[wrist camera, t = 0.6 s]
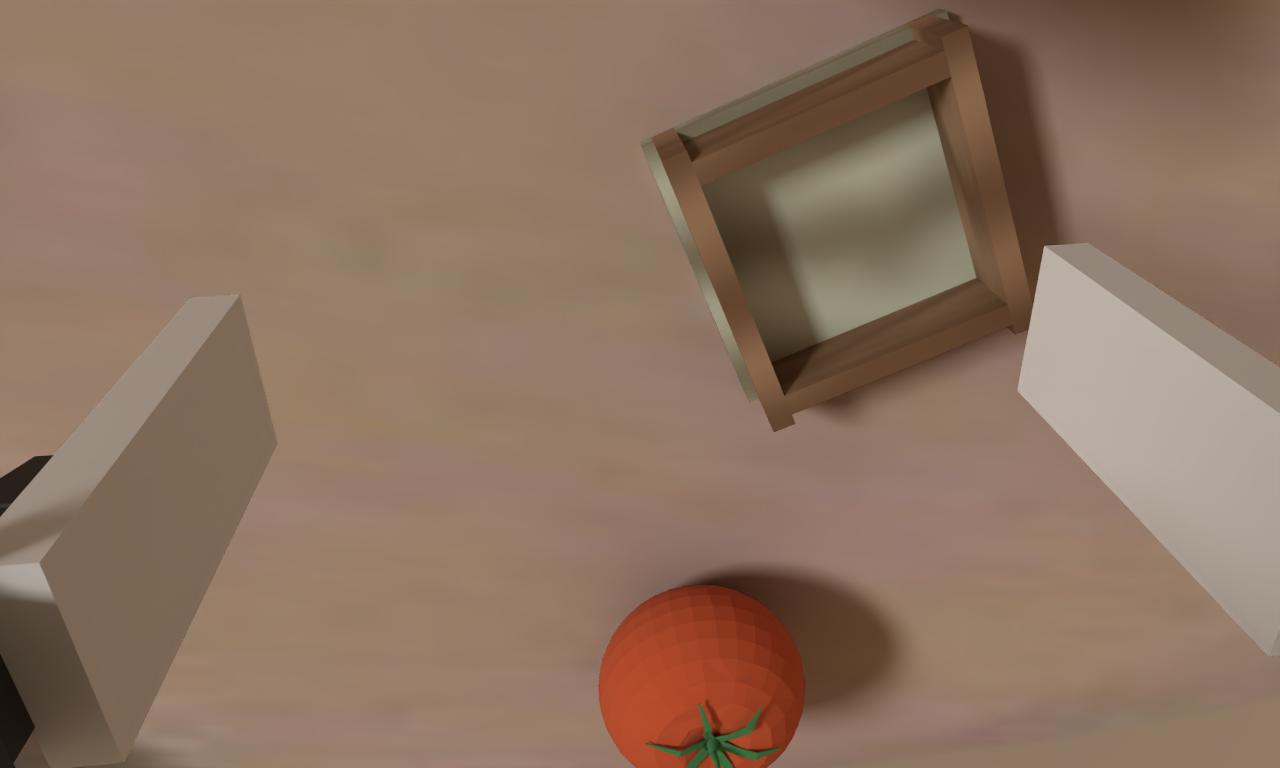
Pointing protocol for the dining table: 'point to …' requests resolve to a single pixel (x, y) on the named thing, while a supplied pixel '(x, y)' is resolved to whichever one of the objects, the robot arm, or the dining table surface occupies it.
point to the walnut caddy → (848, 217)
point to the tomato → (701, 682)
